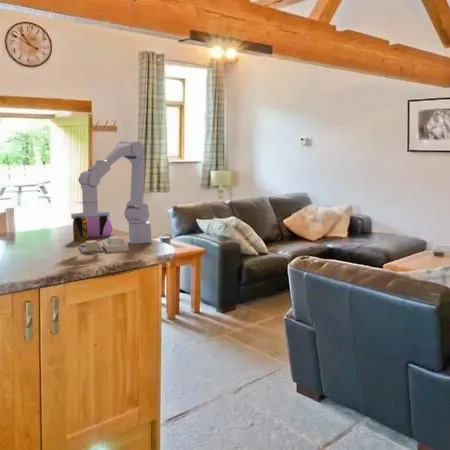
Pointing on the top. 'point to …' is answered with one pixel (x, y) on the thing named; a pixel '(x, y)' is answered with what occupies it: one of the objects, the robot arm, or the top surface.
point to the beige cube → (91, 245)
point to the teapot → (98, 227)
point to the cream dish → (115, 246)
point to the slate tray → (83, 250)
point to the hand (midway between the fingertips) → (91, 235)
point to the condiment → (84, 230)
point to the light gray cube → (114, 240)
